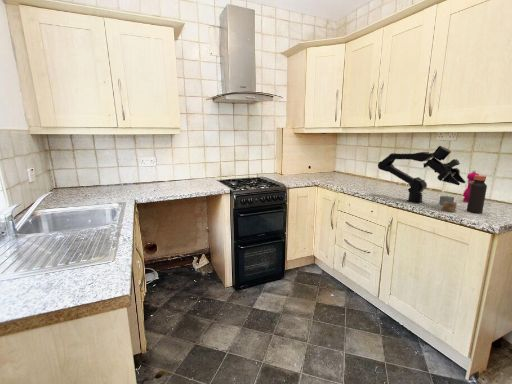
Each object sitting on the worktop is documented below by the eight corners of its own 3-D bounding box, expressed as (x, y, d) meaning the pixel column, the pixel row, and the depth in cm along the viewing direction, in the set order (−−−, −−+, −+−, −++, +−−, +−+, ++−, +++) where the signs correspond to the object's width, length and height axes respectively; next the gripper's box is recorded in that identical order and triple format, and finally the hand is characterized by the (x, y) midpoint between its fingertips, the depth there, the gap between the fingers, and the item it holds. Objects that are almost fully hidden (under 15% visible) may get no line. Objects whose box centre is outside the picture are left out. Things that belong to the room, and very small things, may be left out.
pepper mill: (463, 199, 173) (468, 169, 169) (477, 201, 168) (483, 170, 164) (460, 201, 168) (465, 170, 164) (475, 203, 163) (480, 171, 159)
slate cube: (439, 204, 163) (440, 196, 162) (444, 203, 165) (445, 195, 164) (447, 206, 159) (448, 197, 158) (453, 205, 160) (454, 197, 159)
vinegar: (475, 210, 149) (481, 174, 145) (485, 213, 143) (492, 176, 139) (463, 209, 150) (469, 174, 146) (472, 213, 143) (478, 176, 139)
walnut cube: (442, 211, 148) (443, 202, 147) (444, 209, 152) (445, 200, 151) (453, 212, 145) (454, 204, 144) (455, 211, 148) (456, 202, 147)
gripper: (441, 156, 146) (468, 174, 137) (453, 154, 157) (479, 171, 149) (427, 171, 153) (452, 189, 144) (439, 169, 164) (463, 185, 155)
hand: (462, 183), depth 148 cm, fingers open, 9 cm apart
